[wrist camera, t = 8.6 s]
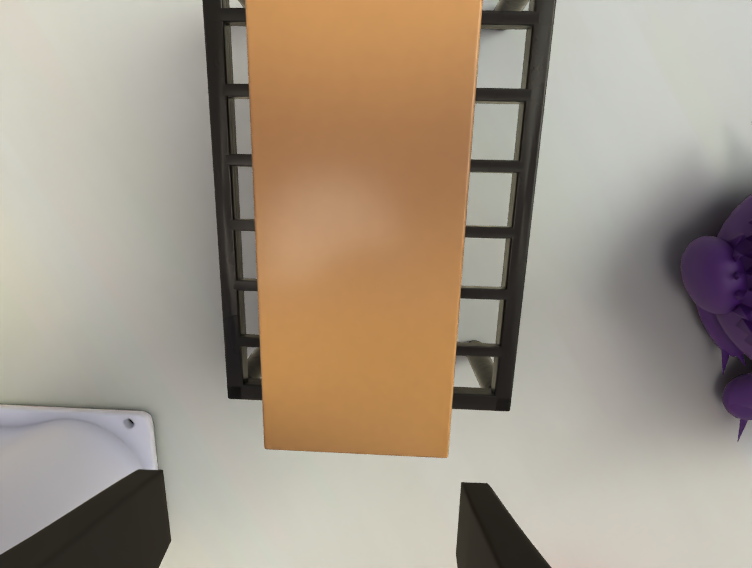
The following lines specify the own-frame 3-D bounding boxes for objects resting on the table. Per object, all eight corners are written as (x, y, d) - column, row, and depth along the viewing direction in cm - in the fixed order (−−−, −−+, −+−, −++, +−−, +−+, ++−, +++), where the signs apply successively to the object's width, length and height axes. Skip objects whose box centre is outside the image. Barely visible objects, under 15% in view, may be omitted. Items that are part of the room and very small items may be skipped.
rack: (266, 349, 19) (223, 403, 14) (253, 2, 16) (190, -83, 11) (482, 358, 19) (514, 416, 14) (515, 5, 15) (572, -82, 11)
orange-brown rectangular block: (431, 375, 14) (448, 459, 9) (303, 370, 14) (263, 450, 9) (455, -27, 11) (496, -169, 7) (297, -28, 11) (236, -167, 7)
